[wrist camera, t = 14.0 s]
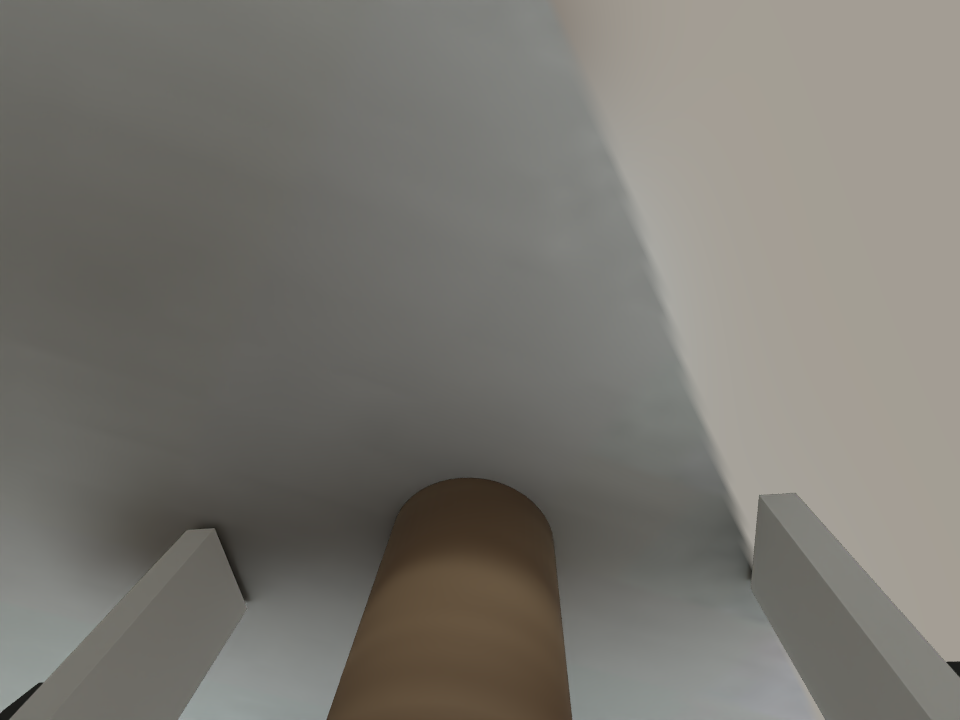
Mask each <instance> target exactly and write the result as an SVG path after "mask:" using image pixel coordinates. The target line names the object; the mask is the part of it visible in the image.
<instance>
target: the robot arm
mask: <svg viewBox="0 0 960 720" xmlns="http://www.w3.org/2000/svg"><path fill="white" fill-rule="evenodd" d="M751 590H752V592H753V594H754V596H755V597H756V599H757V601H758V603H759V604H760V606H761V608H762V610H763V611H764V613H765V615H766V617H767V618H768V620H769V622H770V624H771V625H772V627H773V629H774V631H775V632H776V634H777V636H778V638H779V639H780V641H781V643H782V645H783V646H784V648H785V650H786V652H787V653H788V655H789V657H790V659H791V660H792V662H793V664H794V666H795V667H796V669H797V671H798V673H799V674H800V676H801V678H802V680H803V681H804V683H805V685H806V687H807V688H808V690H809V692H810V694H811V695H812V697H813V699H814V701H815V702H816V704H817V706H818V708H819V709H820V711H821V713H822V715H823V716H824V718H825V720H960V662H945V660H944V659H943V658H942V657H941V656H940V655H939V654H938V653H937V651H936V650H935V649H934V648H933V647H932V646H931V645H930V644H929V643H928V641H927V640H926V639H925V638H924V637H923V636H922V635H921V634H920V632H919V631H918V630H917V629H916V628H915V627H914V626H913V624H912V623H911V622H910V621H909V620H908V619H907V618H906V617H905V615H904V614H903V613H902V612H901V611H900V610H899V609H898V608H897V606H896V605H895V604H894V603H893V602H892V601H891V600H890V599H889V597H888V596H887V595H886V594H885V593H884V592H883V591H882V590H881V588H880V587H879V586H878V585H877V584H876V583H875V582H874V581H873V579H872V578H871V577H870V576H869V575H868V574H867V573H866V572H865V570H864V569H863V568H862V567H861V566H860V565H859V564H858V563H857V561H856V560H855V559H854V558H853V557H852V556H851V555H850V554H849V552H848V551H847V550H846V549H845V548H844V547H843V546H842V544H841V543H840V542H839V541H838V540H837V539H836V538H835V537H834V536H833V534H832V533H831V532H830V531H829V530H828V529H827V528H826V526H825V525H824V524H823V523H822V522H821V521H820V520H819V519H818V517H817V516H816V515H815V514H814V513H813V512H812V511H811V510H810V509H809V507H808V506H807V505H806V504H805V503H804V502H803V501H802V499H801V498H800V497H799V496H798V495H797V494H796V493H787V494H771V495H759V503H758V514H757V525H756V536H755V547H754V558H753V569H752V580H751ZM246 610H247V607H246V604H245V602H244V599H243V597H242V594H241V592H240V589H239V587H238V584H237V582H236V580H235V577H234V575H233V572H232V570H231V567H230V565H229V562H228V560H227V558H226V555H225V553H224V550H223V548H222V545H221V543H220V540H219V538H218V535H217V533H216V531H215V528H210V529H194V530H186V532H185V533H184V534H183V535H182V536H181V537H180V538H179V539H178V540H177V541H176V542H175V543H174V544H173V545H172V546H171V548H170V549H169V550H168V551H167V552H166V553H165V554H164V555H163V556H162V557H161V558H160V559H159V560H158V561H157V562H156V564H155V565H154V566H153V567H152V568H151V569H150V570H149V571H148V572H147V573H146V574H145V575H144V576H143V577H142V578H141V580H140V581H139V582H138V583H137V584H136V585H135V586H134V587H133V588H132V589H131V590H130V591H129V592H128V593H127V594H126V596H125V597H124V598H123V599H122V600H121V601H120V602H119V603H118V604H117V605H116V606H115V607H114V608H113V609H112V610H111V611H110V613H109V614H108V615H107V616H106V617H105V618H104V619H103V620H102V621H101V622H100V623H99V624H98V625H97V626H96V627H95V629H94V630H93V631H92V632H91V633H90V634H89V635H88V636H87V637H86V638H85V639H84V640H83V641H82V642H81V643H80V645H79V646H78V647H77V648H76V649H75V650H74V651H73V652H72V653H71V654H70V655H69V656H68V657H67V658H66V659H65V661H64V662H63V663H62V664H61V665H60V666H59V667H58V668H57V669H56V670H55V671H54V672H53V673H52V674H51V675H50V676H49V678H48V679H47V680H46V681H45V682H44V683H38V684H37V685H35V686H34V687H33V688H31V689H30V690H29V691H28V692H26V693H25V694H24V695H22V696H21V697H20V698H19V699H17V700H16V701H15V702H13V703H12V704H11V705H10V706H8V707H7V708H6V709H4V710H3V711H2V712H1V713H0V720H178V719H179V717H180V715H181V714H182V712H183V711H184V709H185V707H186V706H187V704H188V703H189V701H190V699H191V698H192V696H193V695H194V693H195V691H196V690H197V688H198V687H199V685H200V683H201V682H202V680H203V679H204V677H205V675H206V674H207V672H208V671H209V669H210V667H211V666H212V664H213V663H214V661H215V659H216V658H217V656H218V655H219V653H220V651H221V650H222V648H223V647H224V645H225V643H226V642H227V640H228V639H229V637H230V636H231V634H232V632H233V631H234V629H235V628H236V626H237V624H238V623H239V621H240V620H241V618H242V616H243V615H244V613H245V612H246Z"/></svg>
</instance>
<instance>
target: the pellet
mask: <svg viewBox="0 0 960 720" xmlns="http://www.w3.org/2000/svg"><path fill="white" fill-rule="evenodd" d="M327 720H572V713H571V704H570V694H569V684H568V675H567V665H566V656H565V646H564V637H563V627H562V617H561V608H560V598H559V589H558V579H557V570H556V560H555V551H554V541H553V535H552V531H551V528H550V526H549V523H548V521H547V520H546V518H545V516H544V515H543V513H542V512H541V510H540V509H539V508H538V507H537V506H536V505H535V504H534V503H533V502H532V501H531V500H530V499H528V498H527V497H526V496H525V495H523V494H522V493H520V492H518V491H517V490H515V489H513V488H511V487H509V486H506V485H504V484H501V483H498V482H495V481H491V480H486V479H479V478H456V479H449V480H445V481H441V482H438V483H435V484H432V485H430V486H428V487H426V488H424V489H422V490H420V491H419V492H418V493H416V494H415V495H413V496H412V497H411V498H410V499H409V500H408V501H407V502H406V503H405V504H404V506H403V507H402V508H401V510H400V512H399V513H398V515H397V517H396V520H395V523H394V526H393V529H392V532H391V535H390V538H389V540H388V543H387V546H386V549H385V552H384V555H383V558H382V561H381V564H380V566H379V569H378V572H377V575H376V578H375V581H374V584H373V587H372V590H371V593H370V595H369V598H368V601H367V604H366V607H365V610H364V613H363V616H362V619H361V621H360V624H359V627H358V630H357V633H356V636H355V639H354V642H353V645H352V648H351V650H350V653H349V656H348V659H347V662H346V665H345V668H344V671H343V674H342V676H341V679H340V682H339V685H338V688H337V691H336V694H335V697H334V700H333V702H332V705H331V708H330V711H329V714H328V717H327Z"/></svg>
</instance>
